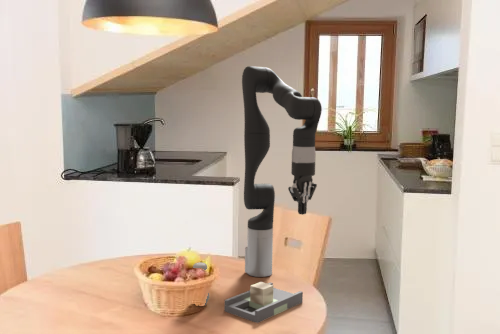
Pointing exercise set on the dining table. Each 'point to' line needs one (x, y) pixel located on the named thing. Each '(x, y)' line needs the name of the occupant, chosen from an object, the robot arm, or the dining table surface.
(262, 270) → the robot arm
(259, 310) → the trap lane
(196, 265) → the salt shaker
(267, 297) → the maple block
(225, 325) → the dining table surface
